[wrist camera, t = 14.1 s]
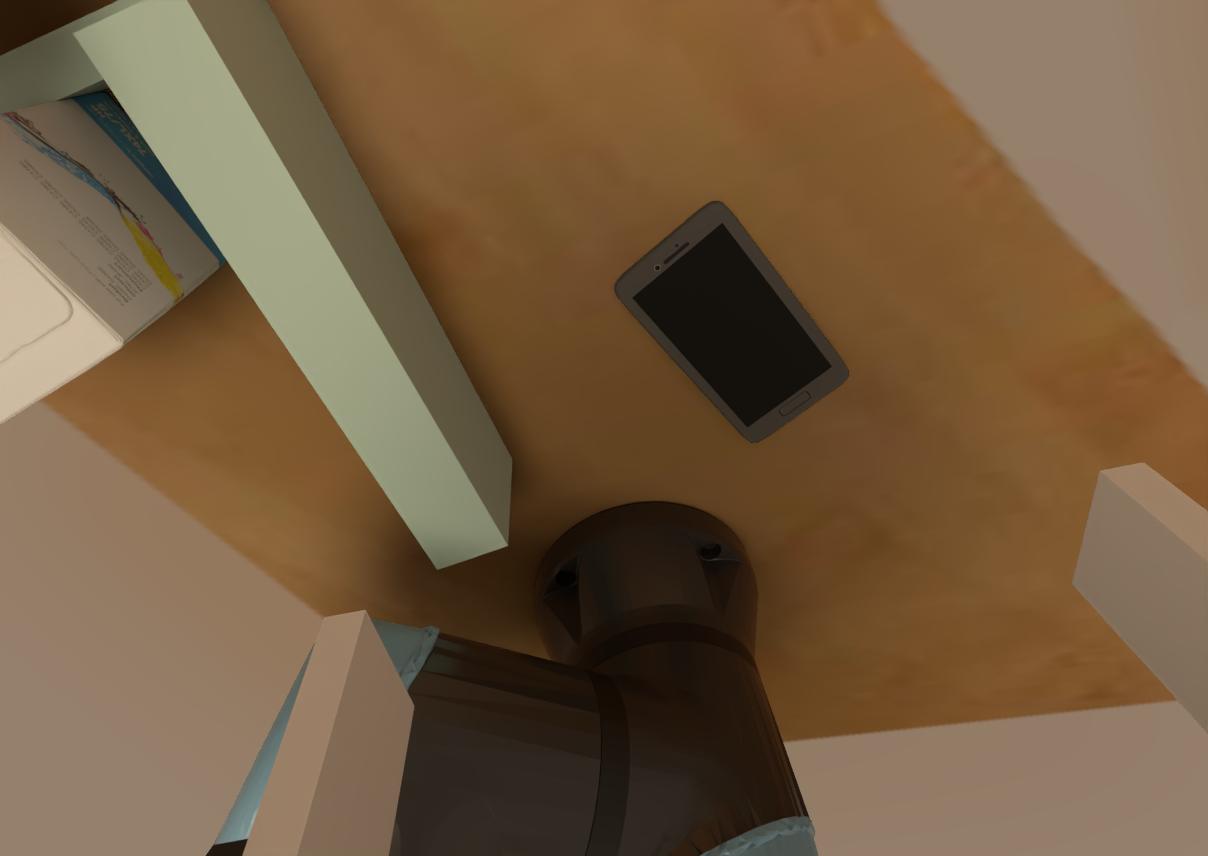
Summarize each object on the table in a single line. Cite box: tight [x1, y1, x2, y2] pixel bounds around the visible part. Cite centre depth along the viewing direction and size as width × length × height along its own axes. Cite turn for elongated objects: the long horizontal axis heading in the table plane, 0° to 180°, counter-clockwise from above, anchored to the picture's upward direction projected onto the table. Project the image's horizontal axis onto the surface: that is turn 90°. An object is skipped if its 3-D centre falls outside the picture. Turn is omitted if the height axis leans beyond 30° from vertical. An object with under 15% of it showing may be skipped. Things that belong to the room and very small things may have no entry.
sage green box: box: [0, 0, 513, 570], centre depth 33 cm, size 27×14×8 cm, turn 20°
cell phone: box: [615, 201, 849, 443], centre depth 40 cm, size 7×14×1 cm, turn 41°
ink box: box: [0, 91, 227, 425], centre depth 29 cm, size 8×8×12 cm
